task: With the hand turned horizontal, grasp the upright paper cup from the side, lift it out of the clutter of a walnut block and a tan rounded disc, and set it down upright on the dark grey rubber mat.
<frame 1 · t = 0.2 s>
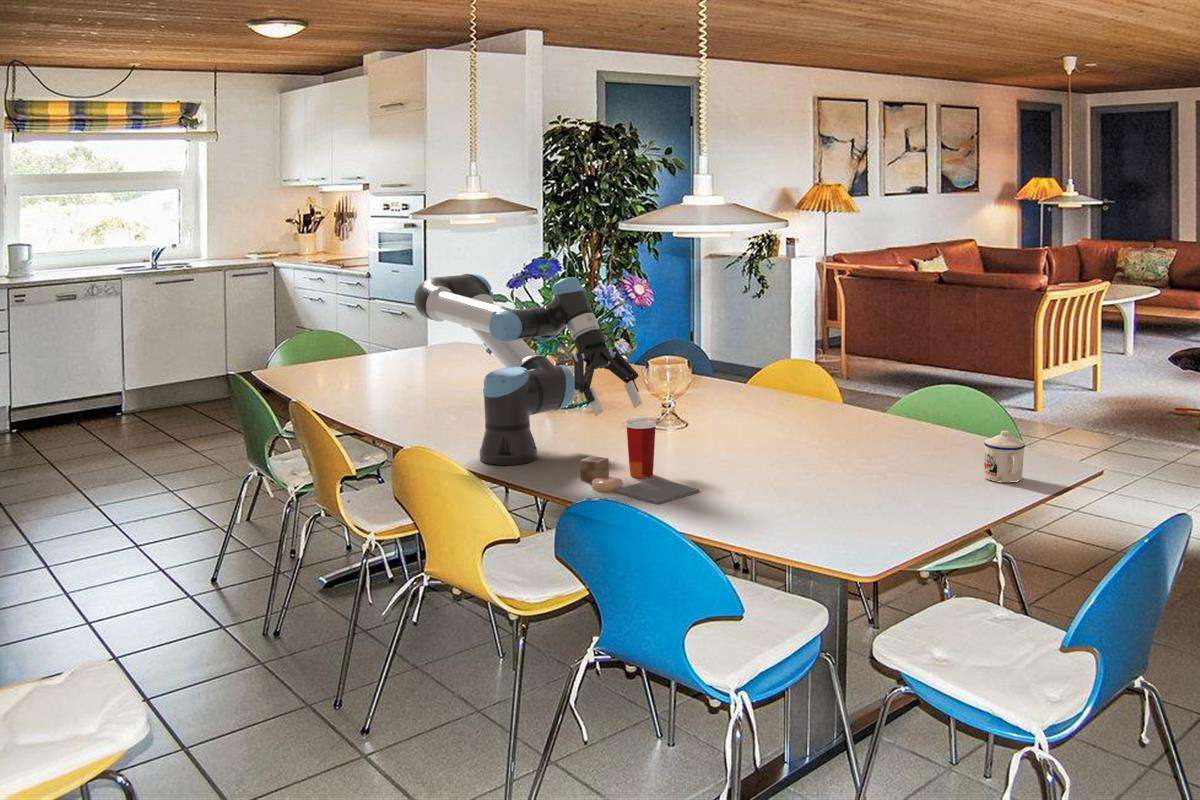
hand: (619, 409, 280), 15 cm above the table, tool tilted 35°, fingers open, 13 cm apart
tan rounded disc: (607, 489, 266), on the table
paper cup: (641, 476, 276), on the table
teacup with lid: (1005, 481, 267), on the table
walnut block: (594, 479, 274), on the table
mat: (656, 492, 262), on the table
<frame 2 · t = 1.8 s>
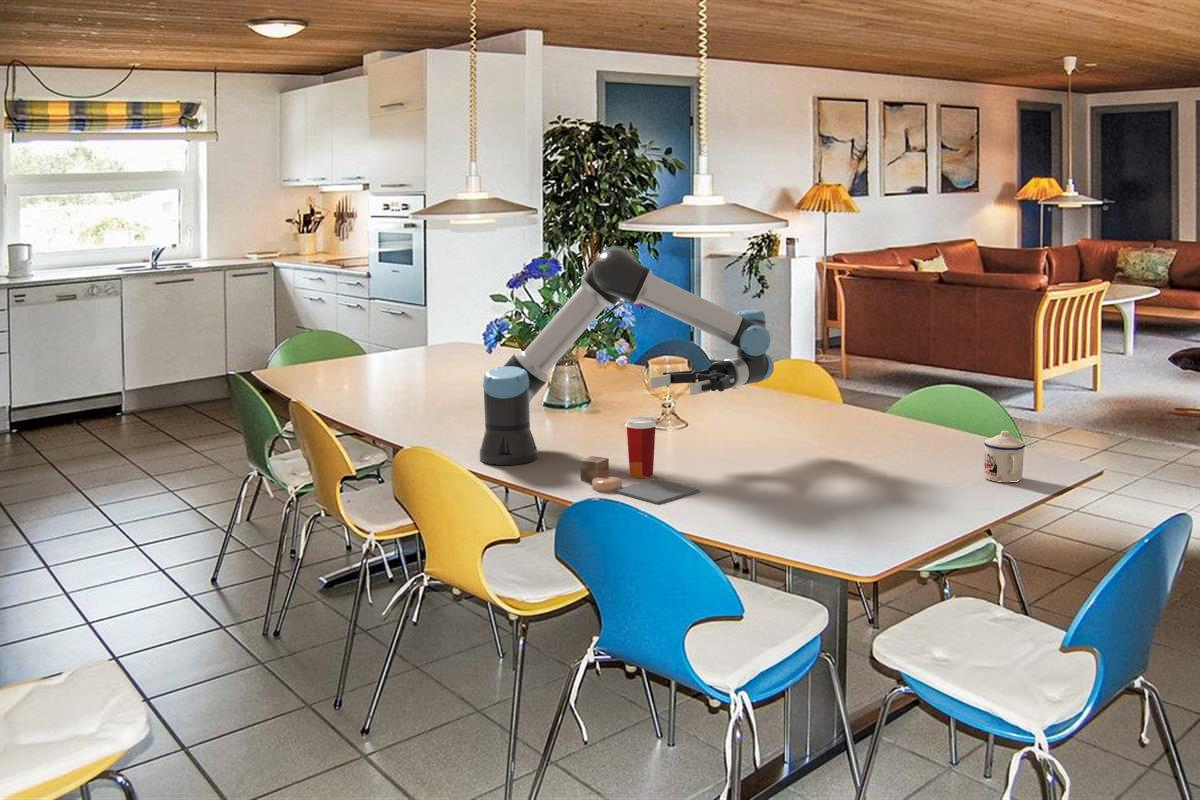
hand: (670, 386, 279), 21 cm above the table, tool horizontal, fingers open, 13 cm apart
nothing on the table moved.
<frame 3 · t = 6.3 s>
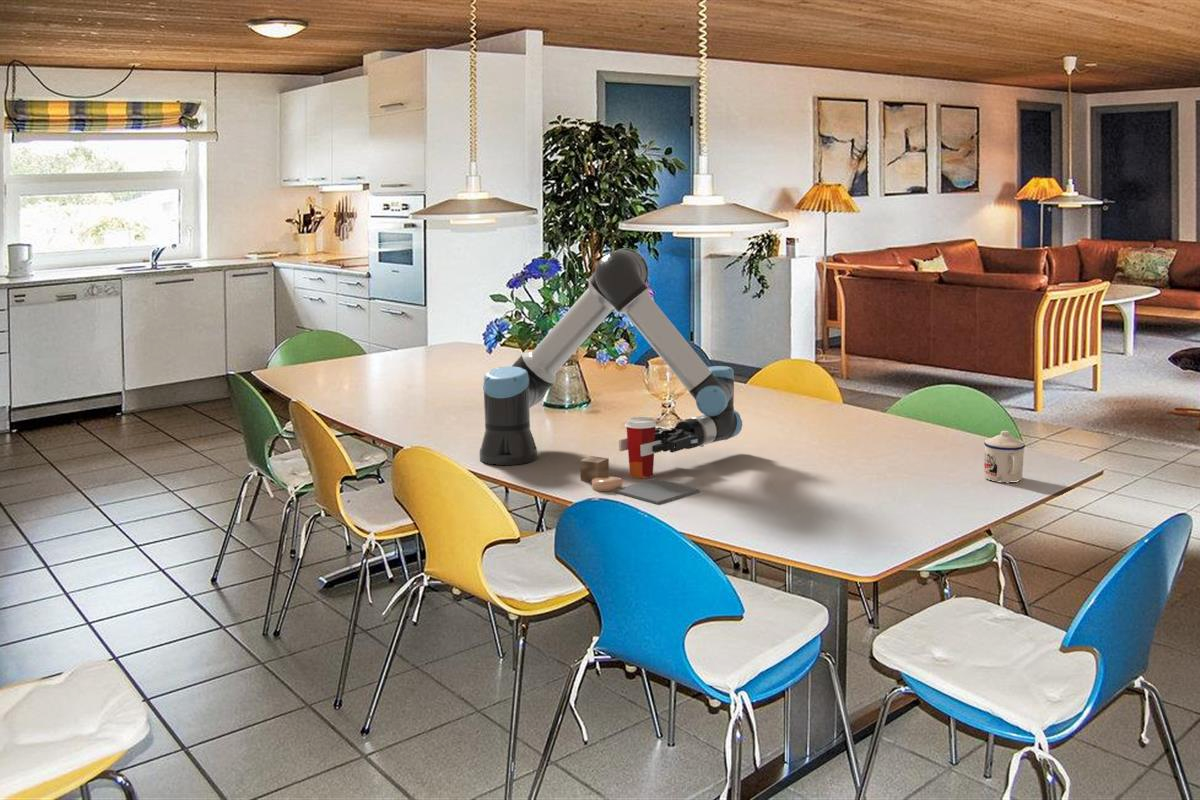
hand: (630, 448, 272), 8 cm above the table, tool horizontal, fingers closed on paper cup, 7 cm apart
paper cup: (641, 476, 276), on the table, touching gripper
everything else where it was.
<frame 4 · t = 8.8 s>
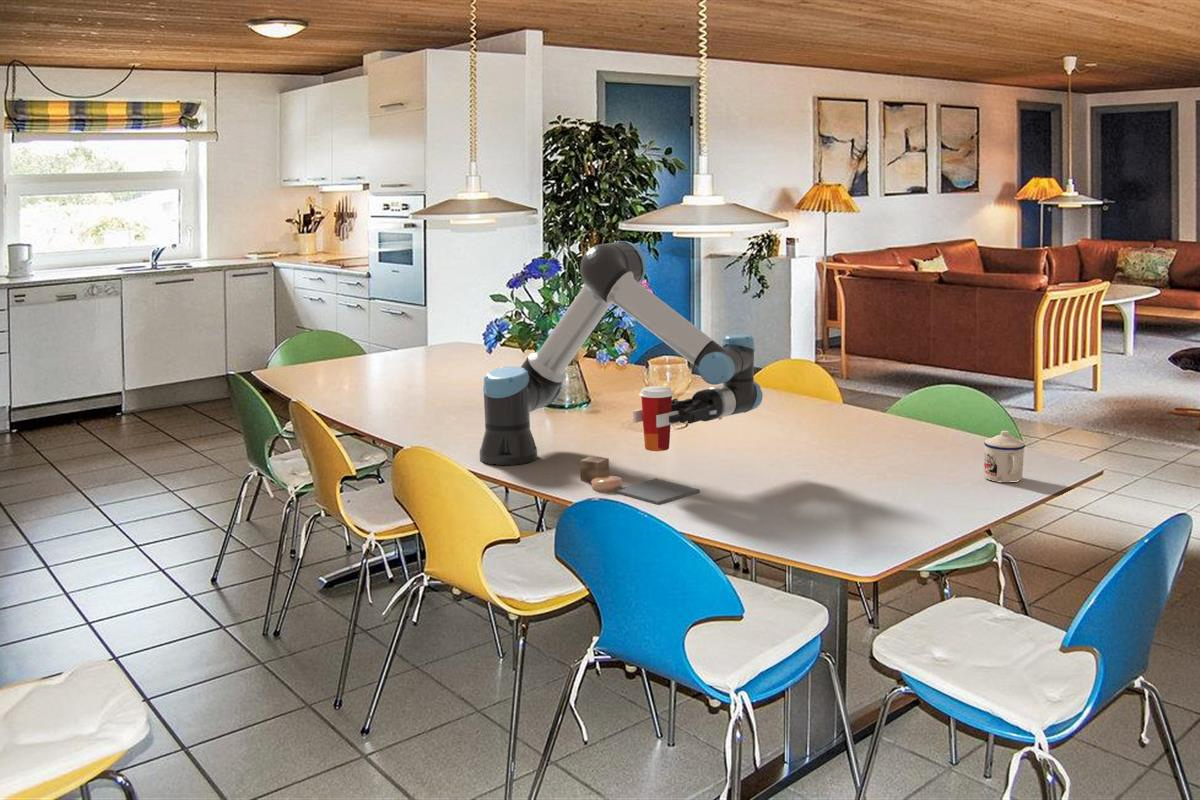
hand: (645, 419, 256), 18 cm above the table, tool horizontal, fingers closed on paper cup, 7 cm apart
paper cup: (656, 449, 260), point 10 cm above the table, touching gripper
everything else where it was.
when the fingers open (9 cm above the table, at t = 11.3 s): paper cup moves 1 cm, on the table.
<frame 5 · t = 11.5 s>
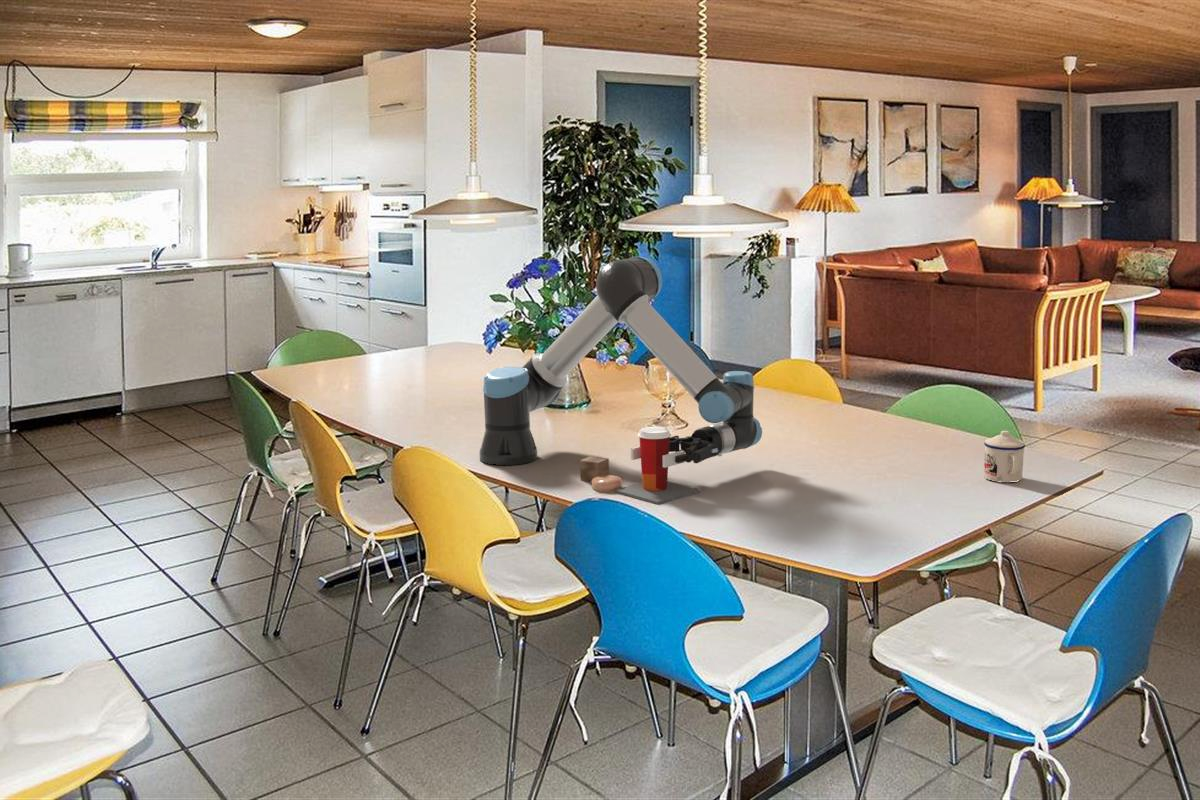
hand: (647, 457, 258), 9 cm above the table, tool horizontal, fingers open, 9 cm apart
paper cup: (654, 488, 263), resting on mat, touching gripper
everything else where it was.
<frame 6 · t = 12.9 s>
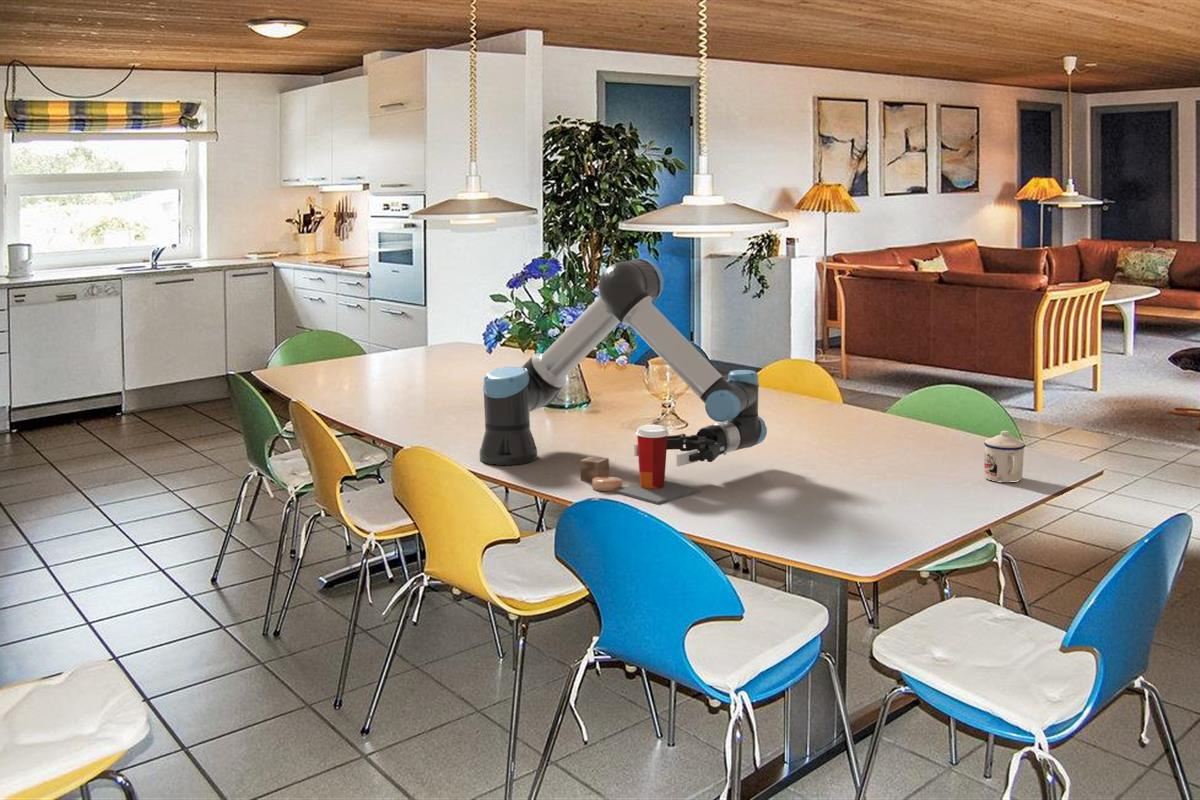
hand: (656, 455, 259), 9 cm above the table, tool horizontal, fingers open, 13 cm apart
paper cup: (651, 486, 264), resting on mat, touching gripper
everything else where it was.
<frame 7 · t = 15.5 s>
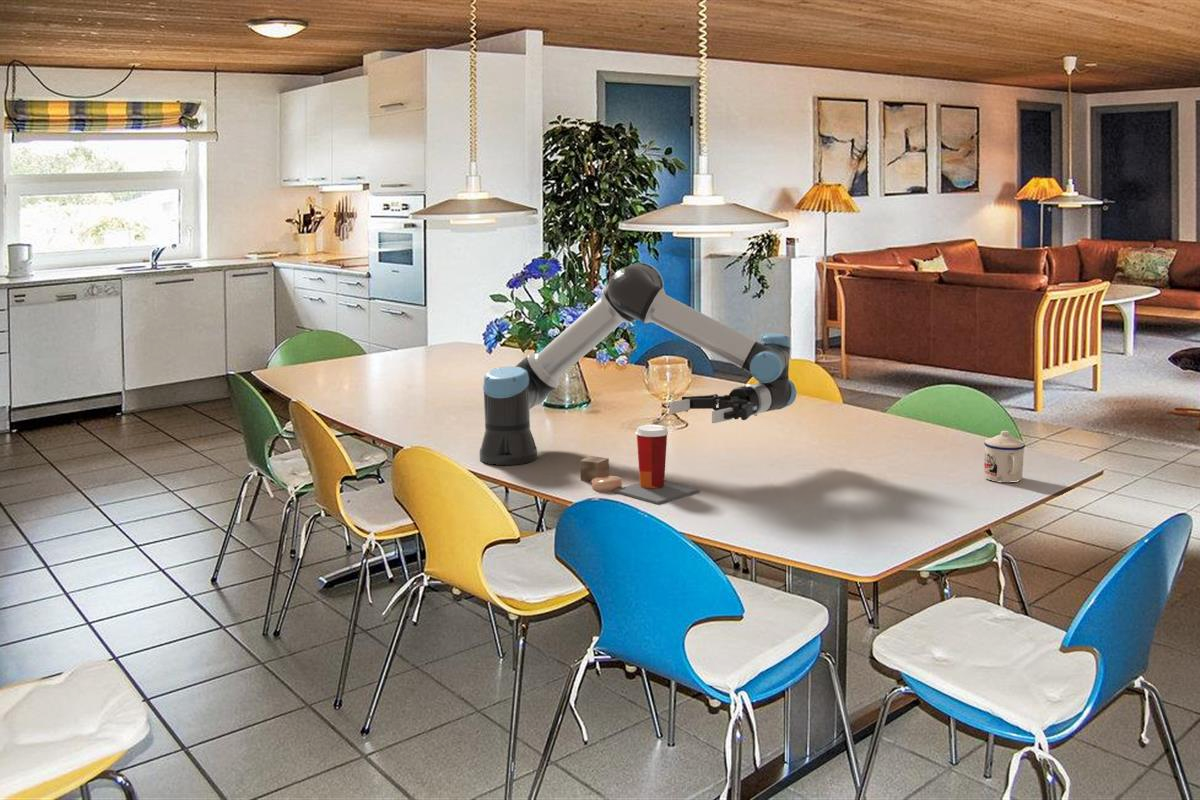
hand: (691, 412, 266), 17 cm above the table, tool horizontal, fingers open, 13 cm apart
paper cup: (651, 486, 265), resting on mat
everything else where it was.
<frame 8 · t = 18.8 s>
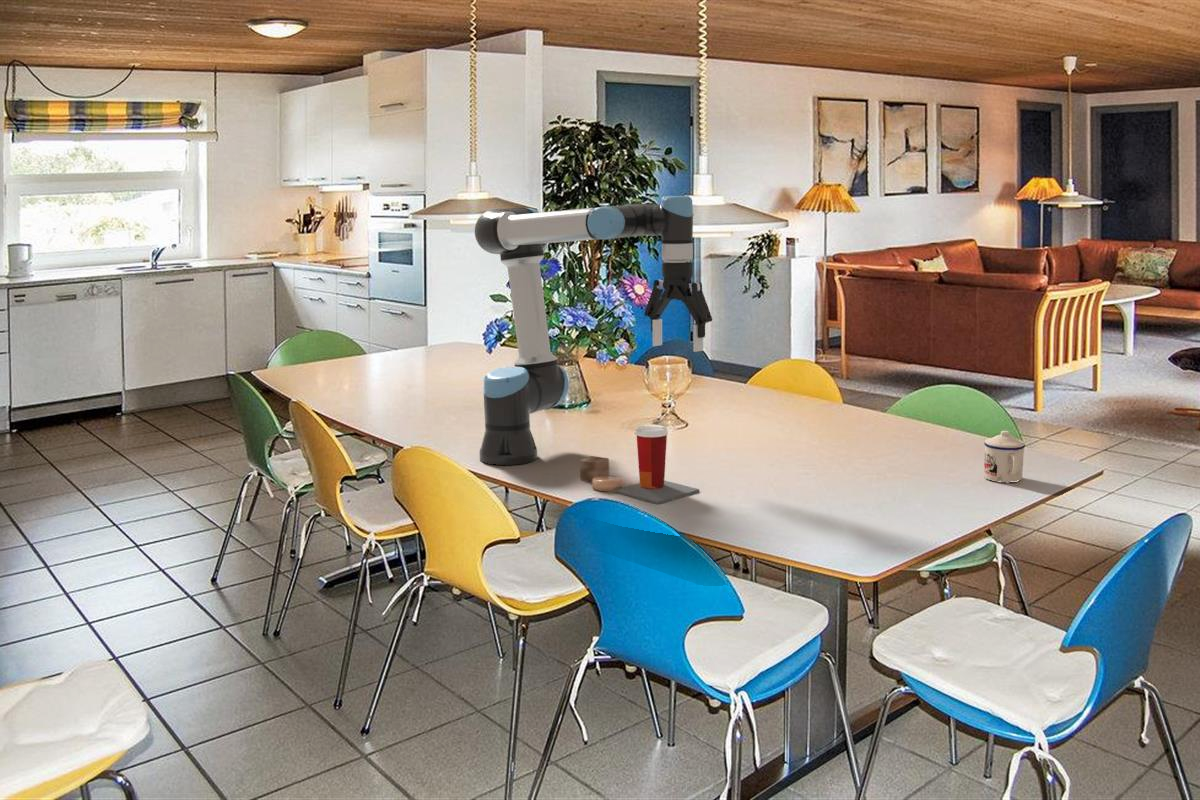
hand: (677, 348, 275), 31 cm above the table, tool pointing down, fingers open, 13 cm apart
nothing on the table moved.
at the end: paper cup inside the target area (3.4 cm from its centre), resting on mat; paper cup tilted 0°; the gripper is holding nothing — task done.
